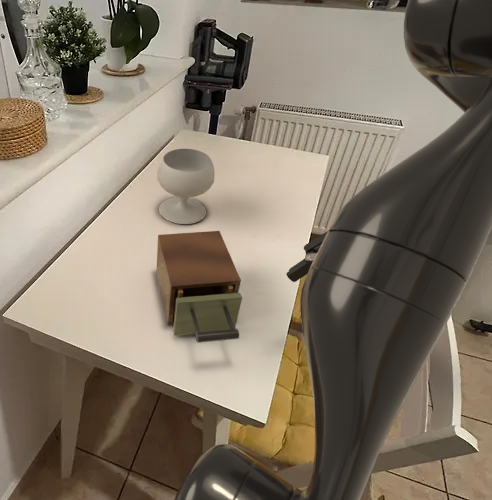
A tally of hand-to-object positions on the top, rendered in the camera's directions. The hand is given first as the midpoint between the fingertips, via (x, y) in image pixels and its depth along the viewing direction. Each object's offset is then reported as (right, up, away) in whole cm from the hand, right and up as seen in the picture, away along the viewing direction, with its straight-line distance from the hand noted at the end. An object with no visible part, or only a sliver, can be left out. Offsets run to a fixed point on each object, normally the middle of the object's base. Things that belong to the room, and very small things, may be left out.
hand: (300, 297), depth 65 cm
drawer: (-13, -6, +18) cm, 23 cm away
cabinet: (-14, -2, +24) cm, 27 cm away
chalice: (-14, +17, +47) cm, 52 cm away
